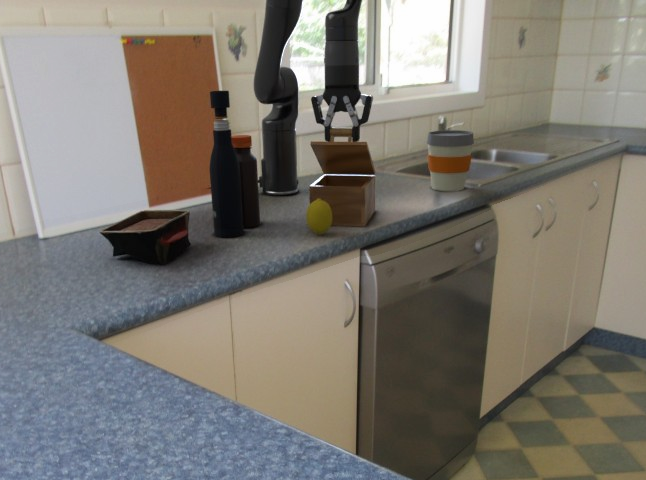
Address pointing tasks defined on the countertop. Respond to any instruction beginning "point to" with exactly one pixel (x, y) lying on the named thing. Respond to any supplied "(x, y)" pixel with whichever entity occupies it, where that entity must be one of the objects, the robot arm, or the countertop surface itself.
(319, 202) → the lemon
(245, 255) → the countertop surface
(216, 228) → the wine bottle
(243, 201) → the vinegar
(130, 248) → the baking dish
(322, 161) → the lid
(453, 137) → the reusable coffee cup
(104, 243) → the countertop surface
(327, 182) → the chest
